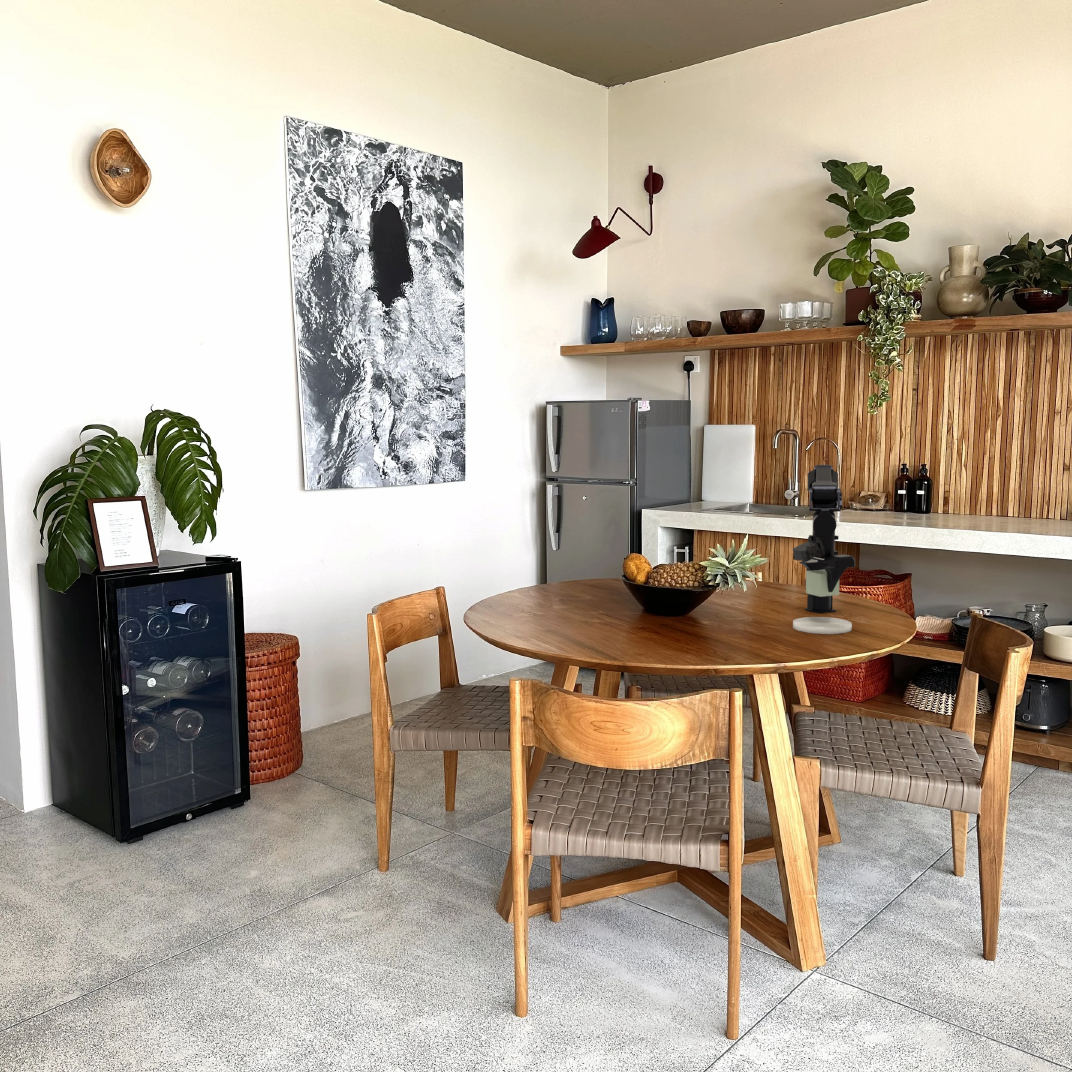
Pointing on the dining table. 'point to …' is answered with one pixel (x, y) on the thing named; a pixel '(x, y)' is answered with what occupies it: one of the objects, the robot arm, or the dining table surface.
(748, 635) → the dining table surface
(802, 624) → the plate
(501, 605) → the dining table surface
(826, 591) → the sage cube
